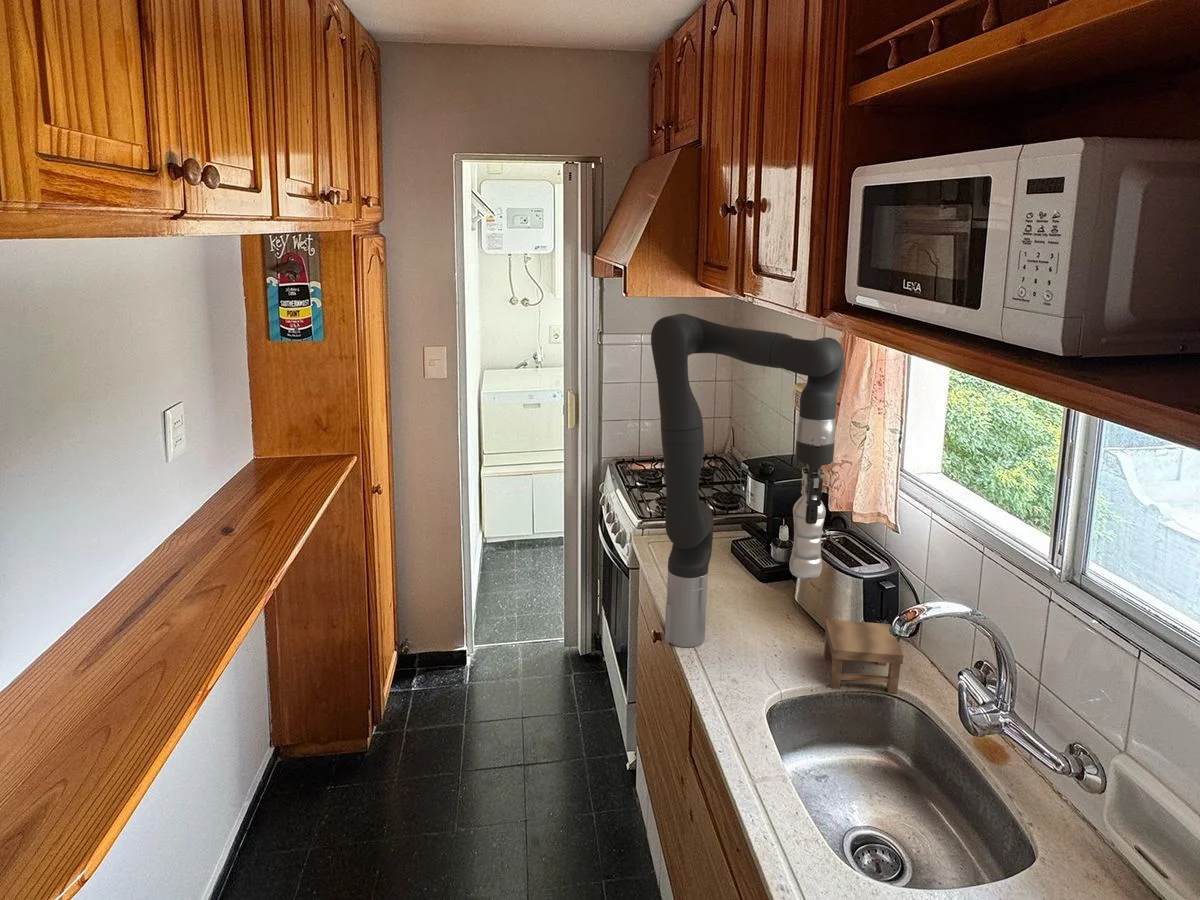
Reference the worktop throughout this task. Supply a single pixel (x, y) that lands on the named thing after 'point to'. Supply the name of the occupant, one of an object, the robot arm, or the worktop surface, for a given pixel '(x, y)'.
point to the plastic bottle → (806, 541)
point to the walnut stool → (862, 650)
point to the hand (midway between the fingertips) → (809, 517)
